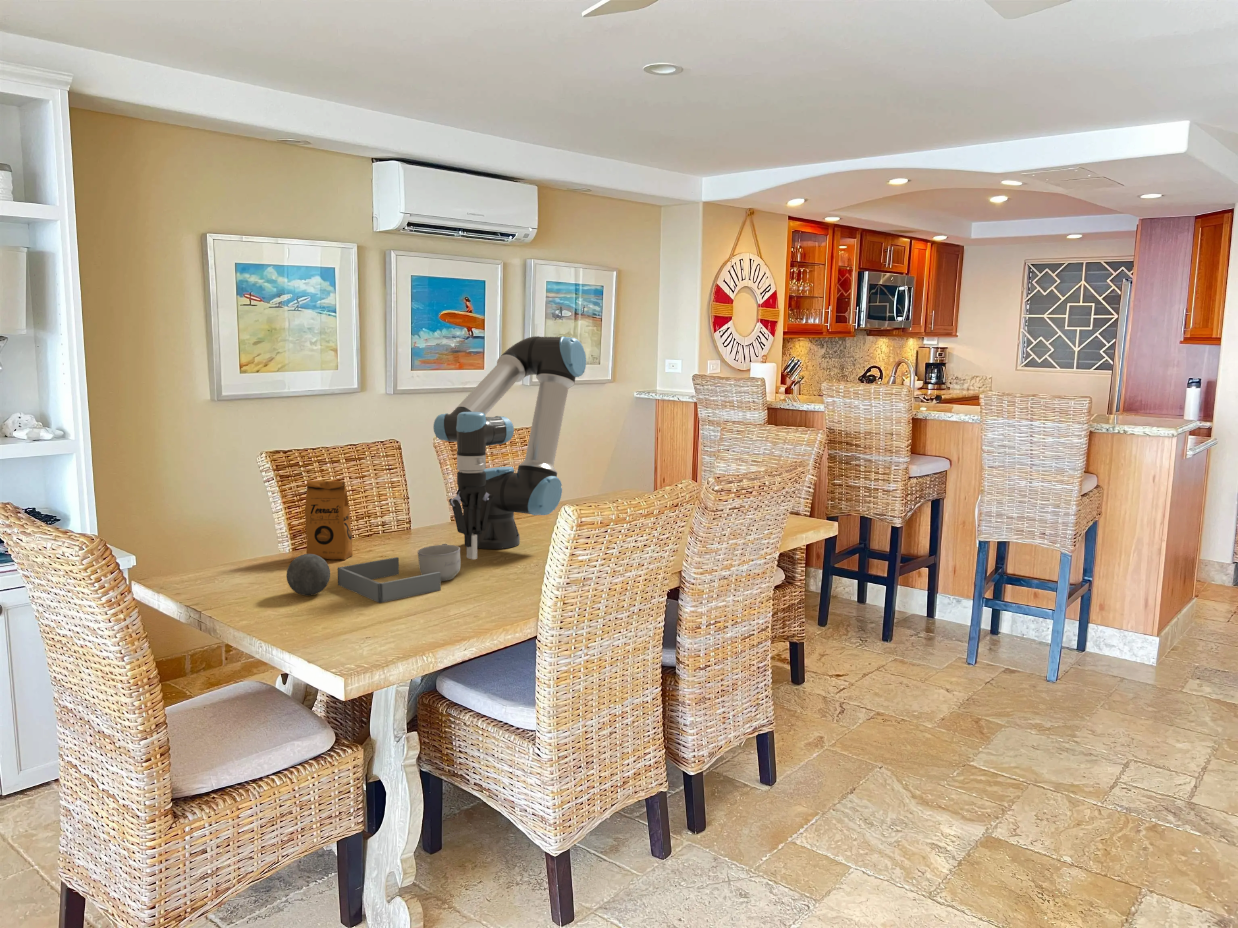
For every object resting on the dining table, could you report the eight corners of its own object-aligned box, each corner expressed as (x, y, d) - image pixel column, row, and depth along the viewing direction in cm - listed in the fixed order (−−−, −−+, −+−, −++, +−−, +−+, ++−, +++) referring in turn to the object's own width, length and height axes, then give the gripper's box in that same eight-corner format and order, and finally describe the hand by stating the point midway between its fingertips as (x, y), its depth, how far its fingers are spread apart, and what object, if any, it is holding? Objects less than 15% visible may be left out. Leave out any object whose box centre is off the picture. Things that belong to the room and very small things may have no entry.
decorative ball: (327, 599, 221) (326, 558, 219) (283, 601, 219) (282, 559, 218) (333, 588, 231) (332, 548, 229) (291, 589, 229) (289, 549, 228)
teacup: (451, 585, 235) (451, 554, 234) (411, 582, 237) (410, 551, 236) (470, 571, 248) (470, 542, 247) (432, 569, 250) (432, 540, 249)
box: (397, 573, 245) (397, 557, 244) (440, 589, 230) (440, 572, 230) (338, 584, 234) (337, 567, 233) (379, 602, 219) (379, 584, 218)
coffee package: (345, 562, 256) (343, 483, 253) (301, 561, 257) (298, 482, 254) (358, 554, 266) (356, 478, 263) (315, 552, 267) (313, 476, 264)
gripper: (458, 474, 238) (459, 564, 241) (500, 470, 247) (500, 556, 250) (442, 471, 243) (443, 559, 247) (483, 467, 252) (483, 552, 256)
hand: (472, 558), depth 248 cm, fingers closed
